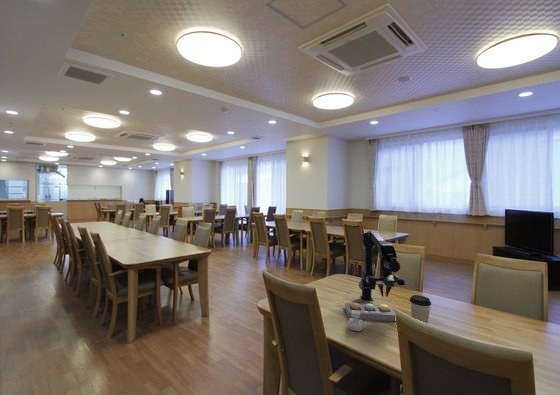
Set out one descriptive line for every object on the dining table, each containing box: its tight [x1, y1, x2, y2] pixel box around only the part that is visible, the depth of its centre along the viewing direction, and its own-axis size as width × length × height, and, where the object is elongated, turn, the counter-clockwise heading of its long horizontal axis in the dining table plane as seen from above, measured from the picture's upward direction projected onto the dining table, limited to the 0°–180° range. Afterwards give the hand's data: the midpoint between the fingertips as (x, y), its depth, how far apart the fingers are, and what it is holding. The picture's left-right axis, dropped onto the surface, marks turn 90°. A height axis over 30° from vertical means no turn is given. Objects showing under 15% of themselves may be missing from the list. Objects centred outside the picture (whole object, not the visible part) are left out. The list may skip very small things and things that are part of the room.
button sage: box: [365, 303, 375, 311], centre depth 150 cm, size 4×4×3 cm
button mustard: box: [379, 303, 390, 312], centre depth 150 cm, size 4×4×3 cm
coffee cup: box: [408, 294, 432, 324], centre depth 135 cm, size 9×9×15 cm
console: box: [344, 302, 396, 322], centre depth 150 cm, size 13×24×3 cm, turn 86°
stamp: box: [345, 310, 366, 332], centre depth 133 cm, size 9×7×8 cm
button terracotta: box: [351, 302, 361, 310], centre depth 151 cm, size 4×4×3 cm
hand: (384, 296), depth 150 cm, fingers closed
